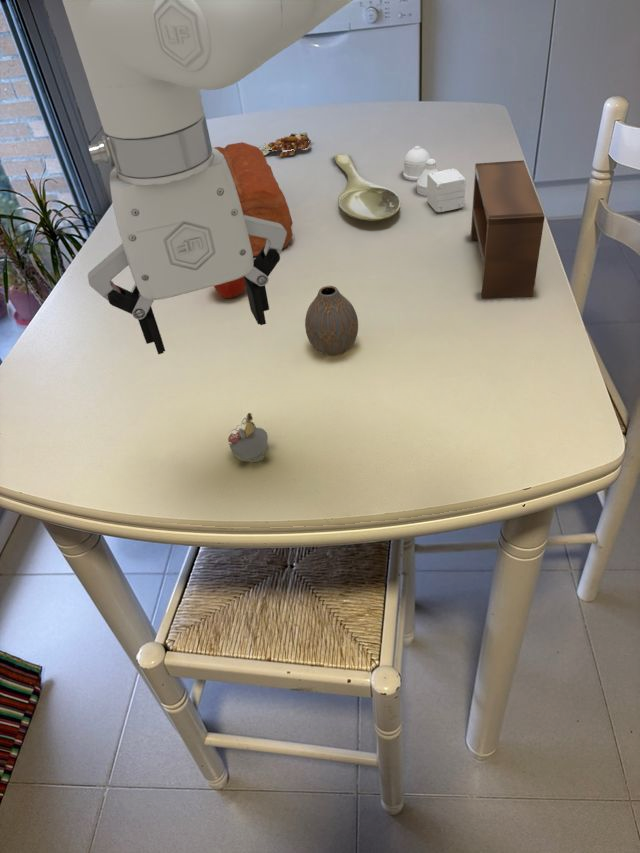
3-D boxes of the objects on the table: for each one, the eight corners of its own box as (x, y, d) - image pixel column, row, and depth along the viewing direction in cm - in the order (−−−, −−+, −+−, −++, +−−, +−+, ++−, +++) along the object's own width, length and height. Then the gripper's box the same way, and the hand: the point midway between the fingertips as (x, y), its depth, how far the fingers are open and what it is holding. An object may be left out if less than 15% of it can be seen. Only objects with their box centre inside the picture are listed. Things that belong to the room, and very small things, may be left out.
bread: (271, 186, 127) (262, 130, 120) (299, 248, 108) (291, 186, 100) (192, 202, 125) (179, 146, 118) (207, 267, 106) (192, 205, 99)
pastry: (256, 149, 142) (253, 132, 140) (310, 141, 142) (308, 124, 140) (257, 161, 137) (254, 144, 135) (313, 153, 137) (311, 136, 135)
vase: (298, 353, 86) (289, 297, 80) (327, 327, 90) (321, 271, 84) (341, 368, 83) (335, 311, 77) (369, 340, 87) (366, 283, 81)
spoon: (316, 168, 135) (315, 157, 134) (365, 160, 136) (365, 149, 134) (349, 233, 108) (348, 221, 107) (411, 222, 109) (411, 210, 108)
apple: (244, 306, 96) (235, 261, 91) (207, 303, 98) (195, 258, 93) (258, 283, 101) (250, 239, 95) (222, 281, 102) (212, 237, 97)
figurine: (268, 469, 72) (260, 430, 68) (229, 471, 72) (218, 432, 68) (272, 435, 75) (264, 397, 71) (235, 438, 76) (225, 399, 72)
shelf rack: (515, 235, 104) (523, 160, 95) (532, 296, 91) (544, 215, 83) (470, 237, 105) (475, 163, 96) (481, 298, 92) (488, 219, 83)
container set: (464, 209, 112) (466, 178, 108) (436, 215, 111) (436, 184, 108) (425, 167, 126) (425, 138, 123) (399, 172, 126) (399, 143, 122)
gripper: (47, 191, 45) (123, 380, 57) (283, 136, 48) (308, 327, 60) (44, 155, 50) (114, 335, 62) (256, 108, 53) (284, 288, 65)
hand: (209, 331), depth 61 cm, fingers open, 9 cm apart
